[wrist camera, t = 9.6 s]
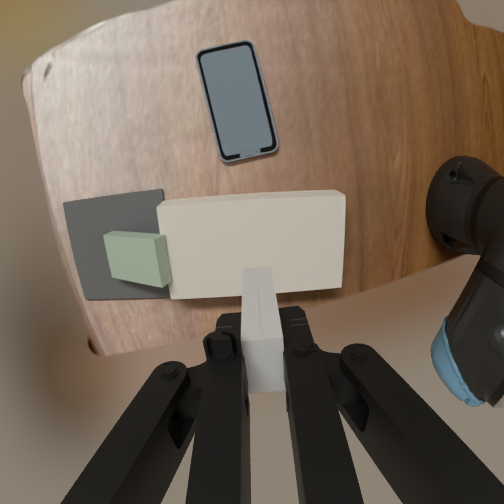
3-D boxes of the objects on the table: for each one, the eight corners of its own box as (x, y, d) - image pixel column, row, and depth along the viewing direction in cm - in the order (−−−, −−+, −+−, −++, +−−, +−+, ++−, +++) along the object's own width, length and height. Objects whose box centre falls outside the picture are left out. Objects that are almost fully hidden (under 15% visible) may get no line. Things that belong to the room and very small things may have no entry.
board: (335, 189, 39) (345, 195, 35) (333, 274, 43) (341, 287, 39) (164, 200, 38) (156, 207, 34) (176, 285, 42) (171, 299, 39)
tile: (164, 234, 35) (153, 239, 34) (171, 280, 37) (162, 287, 36) (113, 230, 39) (103, 235, 37) (121, 271, 41) (112, 277, 39)
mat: (162, 188, 38) (161, 189, 37) (177, 295, 43) (177, 296, 42) (64, 202, 37) (62, 203, 37) (86, 297, 43) (85, 299, 42)
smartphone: (252, 38, 31) (280, 150, 36) (252, 40, 32) (279, 150, 37) (193, 51, 31) (220, 164, 36) (194, 53, 32) (221, 163, 37)
